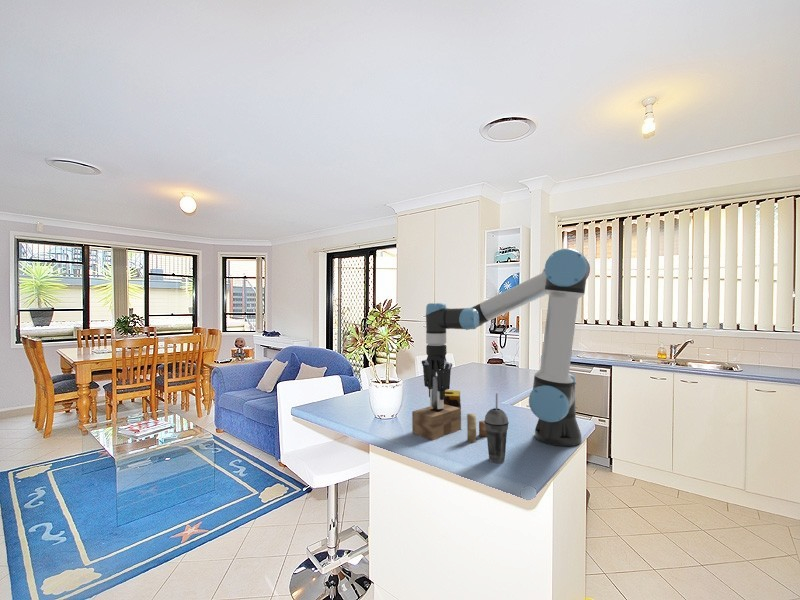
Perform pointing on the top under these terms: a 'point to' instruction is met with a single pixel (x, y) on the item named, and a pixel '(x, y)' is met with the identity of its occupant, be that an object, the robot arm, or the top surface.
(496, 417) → the beverage cup
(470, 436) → the medium pin
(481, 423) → the short pin
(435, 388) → the long pin
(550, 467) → the top surface
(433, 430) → the hole block
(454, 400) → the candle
